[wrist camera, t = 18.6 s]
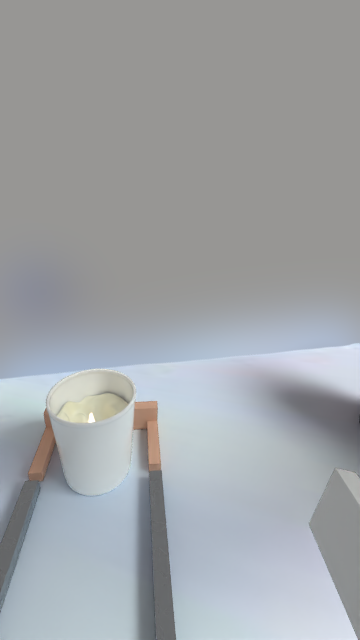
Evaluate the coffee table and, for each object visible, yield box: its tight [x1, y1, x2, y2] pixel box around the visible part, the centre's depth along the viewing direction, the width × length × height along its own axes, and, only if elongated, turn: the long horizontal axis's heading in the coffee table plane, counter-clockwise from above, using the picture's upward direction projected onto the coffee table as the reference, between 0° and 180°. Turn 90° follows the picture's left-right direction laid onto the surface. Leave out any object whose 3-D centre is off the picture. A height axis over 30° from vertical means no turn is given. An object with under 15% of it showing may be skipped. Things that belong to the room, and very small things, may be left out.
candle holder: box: [46, 369, 136, 496], centre depth 35 cm, size 10×10×12 cm
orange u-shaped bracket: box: [28, 401, 161, 481], centre depth 39 cm, size 16×9×4 cm, turn 98°
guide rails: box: [0, 470, 176, 640], centre depth 27 cm, size 16×17×2 cm
